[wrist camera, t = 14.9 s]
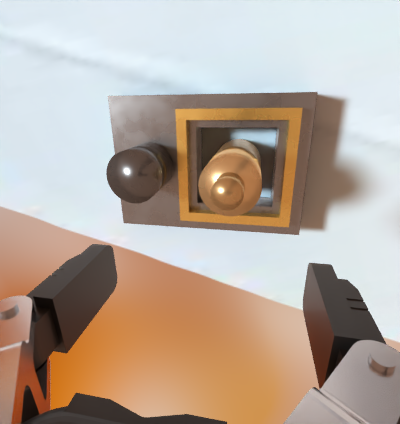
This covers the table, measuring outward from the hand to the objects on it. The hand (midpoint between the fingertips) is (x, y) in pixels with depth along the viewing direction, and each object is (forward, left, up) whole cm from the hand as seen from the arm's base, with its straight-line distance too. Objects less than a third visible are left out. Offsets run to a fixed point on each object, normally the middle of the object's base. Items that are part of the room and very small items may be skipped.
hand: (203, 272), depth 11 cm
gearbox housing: (+3, 0, -22) cm, 22 cm away
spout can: (0, 0, -22) cm, 22 cm away
